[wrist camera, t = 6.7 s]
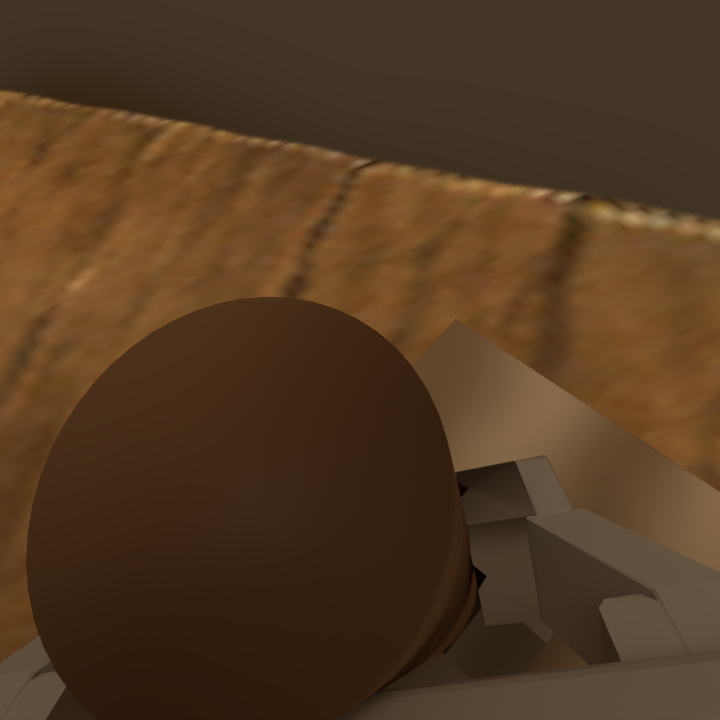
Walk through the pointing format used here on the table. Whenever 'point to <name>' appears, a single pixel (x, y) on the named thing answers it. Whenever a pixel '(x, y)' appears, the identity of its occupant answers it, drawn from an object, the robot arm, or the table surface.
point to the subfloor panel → (575, 472)
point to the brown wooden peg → (249, 522)
